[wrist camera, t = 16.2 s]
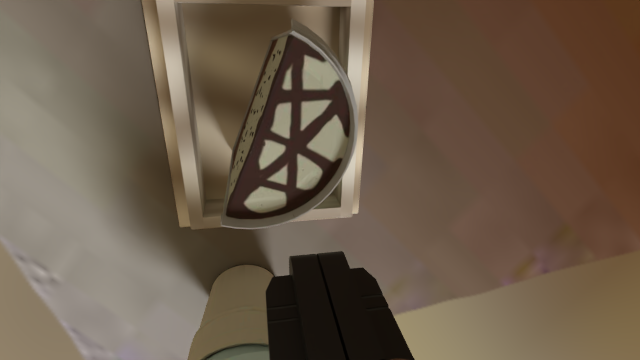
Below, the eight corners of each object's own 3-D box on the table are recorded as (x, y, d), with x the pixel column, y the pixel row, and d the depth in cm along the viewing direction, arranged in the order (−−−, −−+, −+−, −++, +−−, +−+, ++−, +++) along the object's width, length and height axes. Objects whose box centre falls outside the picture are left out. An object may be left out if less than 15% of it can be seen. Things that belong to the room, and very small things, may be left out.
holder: (136, -42, 23) (119, -49, 20) (373, -31, 26) (391, -37, 23) (180, 224, 32) (173, 247, 29) (356, 210, 35) (367, 230, 31)
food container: (295, 188, 32) (314, 257, 23) (226, 167, 30) (218, 233, 21) (354, 50, 28) (405, 69, 19) (278, 16, 26) (296, 19, 17)
